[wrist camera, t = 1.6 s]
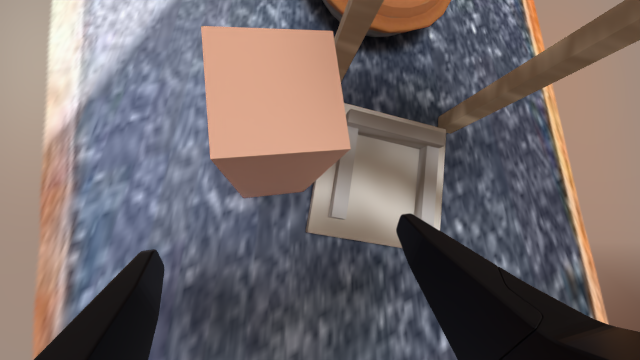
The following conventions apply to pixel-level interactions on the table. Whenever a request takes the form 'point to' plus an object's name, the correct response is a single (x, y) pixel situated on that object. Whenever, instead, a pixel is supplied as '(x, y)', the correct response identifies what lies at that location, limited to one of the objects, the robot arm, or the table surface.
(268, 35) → the block
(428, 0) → the pie
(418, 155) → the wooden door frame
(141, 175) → the table surface
